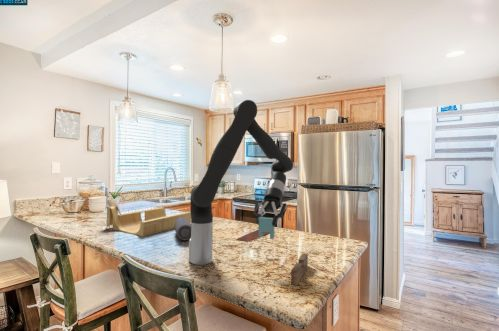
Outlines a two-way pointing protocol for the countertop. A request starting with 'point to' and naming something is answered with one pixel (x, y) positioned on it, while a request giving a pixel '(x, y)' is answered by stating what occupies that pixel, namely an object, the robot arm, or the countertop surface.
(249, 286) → the countertop surface
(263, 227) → the teal notched bridge block
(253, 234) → the wooden tablet
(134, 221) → the skate ramp
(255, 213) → the robot arm
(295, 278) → the walnut slotted plate
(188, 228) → the bluetooth speaker
